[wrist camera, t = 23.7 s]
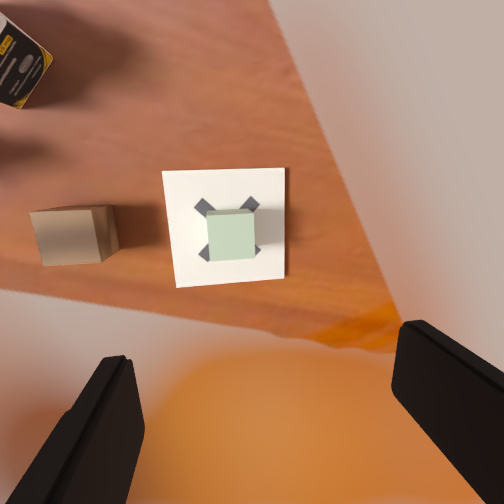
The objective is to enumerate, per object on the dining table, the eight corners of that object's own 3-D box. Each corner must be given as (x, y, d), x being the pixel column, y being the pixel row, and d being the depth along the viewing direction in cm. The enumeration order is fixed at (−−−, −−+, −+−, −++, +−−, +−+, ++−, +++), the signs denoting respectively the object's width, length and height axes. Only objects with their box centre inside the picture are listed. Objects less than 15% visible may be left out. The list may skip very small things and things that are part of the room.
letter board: (163, 171, 32) (161, 171, 32) (282, 168, 34) (284, 167, 34) (177, 285, 37) (176, 287, 36) (282, 276, 39) (284, 278, 38)
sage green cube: (207, 210, 34) (206, 215, 28) (247, 208, 34) (253, 213, 29) (210, 249, 35) (210, 261, 30) (249, 247, 36) (255, 258, 31)
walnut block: (62, 206, 32) (29, 211, 26) (112, 205, 33) (90, 209, 27) (72, 251, 33) (43, 266, 28) (120, 249, 34) (101, 262, 28)
